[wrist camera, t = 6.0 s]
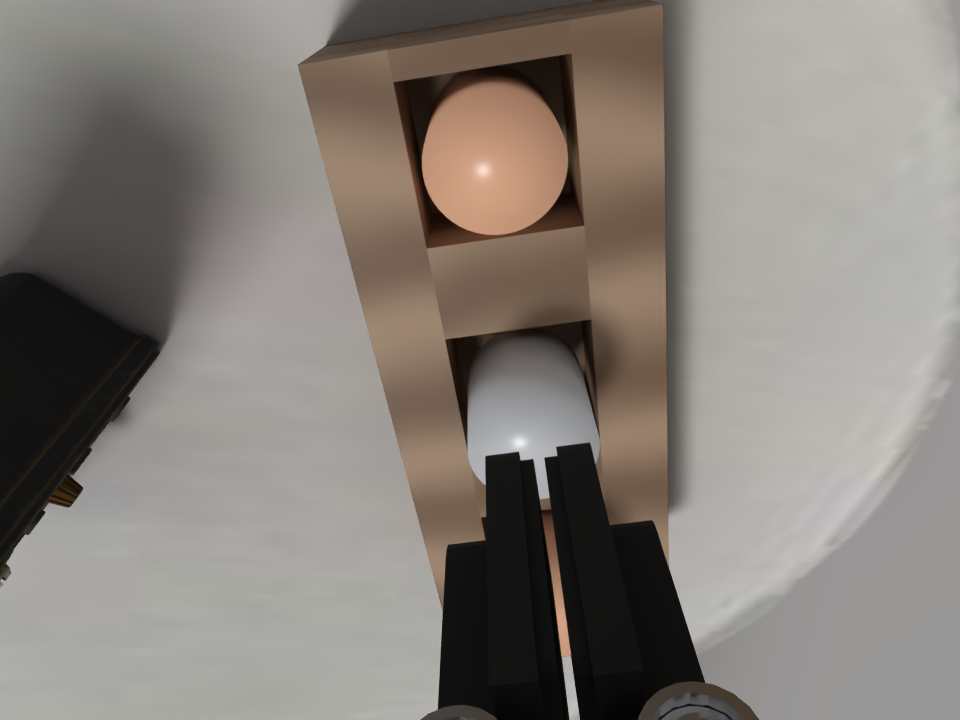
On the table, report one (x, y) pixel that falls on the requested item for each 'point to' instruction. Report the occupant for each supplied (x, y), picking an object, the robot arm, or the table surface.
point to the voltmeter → (54, 396)
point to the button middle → (527, 401)
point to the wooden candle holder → (509, 244)
